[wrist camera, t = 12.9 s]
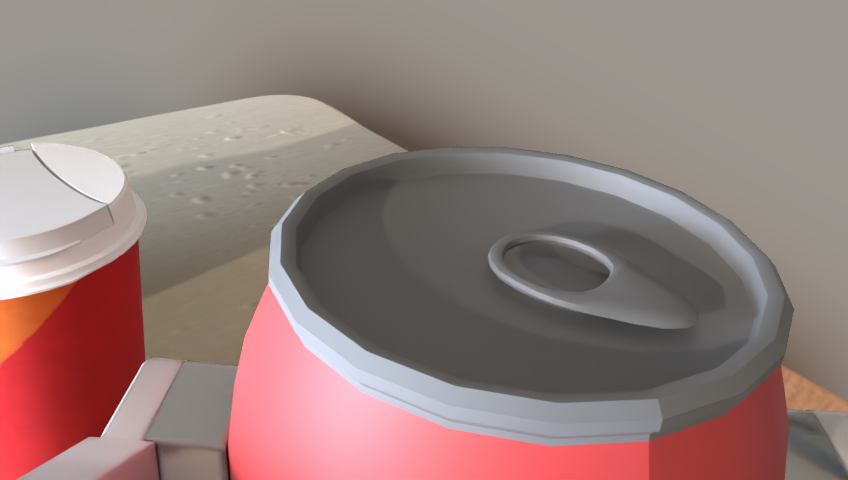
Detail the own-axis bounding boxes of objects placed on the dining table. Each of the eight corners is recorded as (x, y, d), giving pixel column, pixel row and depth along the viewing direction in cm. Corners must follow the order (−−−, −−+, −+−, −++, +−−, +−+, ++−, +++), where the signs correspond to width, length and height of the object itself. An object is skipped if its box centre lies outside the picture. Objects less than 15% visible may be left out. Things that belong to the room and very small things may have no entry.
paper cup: (-47, 485, 30) (-152, 154, 23) (155, 427, 34) (116, 123, 27) (-38, 657, 25) (-174, 284, 18) (206, 565, 28) (171, 223, 21)
